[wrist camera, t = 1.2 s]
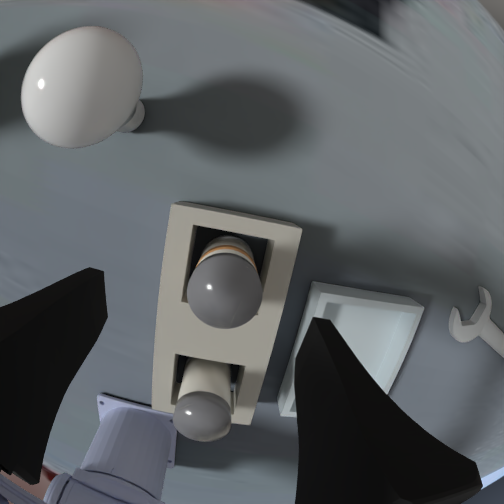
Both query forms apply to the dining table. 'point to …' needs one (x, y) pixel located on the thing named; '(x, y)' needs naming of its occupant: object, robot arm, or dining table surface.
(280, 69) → the dining table surface
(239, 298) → the fuse
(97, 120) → the lightbulb
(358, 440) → the robot arm
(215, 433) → the cylinder
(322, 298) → the parts tray
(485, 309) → the wrench
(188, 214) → the fuse block
